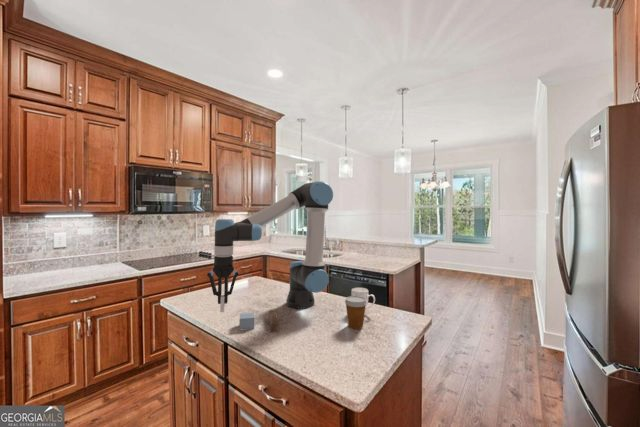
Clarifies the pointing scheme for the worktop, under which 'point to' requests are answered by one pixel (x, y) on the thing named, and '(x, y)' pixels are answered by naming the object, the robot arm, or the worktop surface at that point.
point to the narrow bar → (273, 321)
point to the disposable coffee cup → (355, 311)
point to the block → (246, 321)
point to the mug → (362, 294)
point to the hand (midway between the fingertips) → (222, 311)
